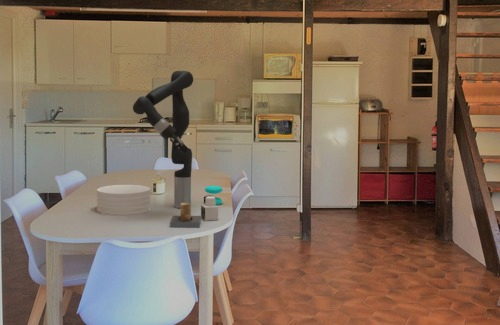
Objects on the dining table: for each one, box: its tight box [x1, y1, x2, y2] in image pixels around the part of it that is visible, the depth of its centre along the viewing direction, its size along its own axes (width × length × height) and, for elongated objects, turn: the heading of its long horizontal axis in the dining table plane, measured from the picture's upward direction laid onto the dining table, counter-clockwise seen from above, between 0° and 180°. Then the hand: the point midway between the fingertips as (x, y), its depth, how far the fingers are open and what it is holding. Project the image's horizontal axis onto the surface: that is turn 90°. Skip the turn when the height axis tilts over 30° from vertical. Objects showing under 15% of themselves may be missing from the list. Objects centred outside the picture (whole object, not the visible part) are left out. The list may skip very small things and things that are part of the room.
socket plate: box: [169, 215, 202, 228], centre depth 273 cm, size 14×14×2 cm
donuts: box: [204, 185, 223, 206], centre depth 323 cm, size 10×10×10 cm
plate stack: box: [96, 184, 151, 216], centre depth 303 cm, size 28×28×12 cm
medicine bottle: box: [200, 194, 219, 222], centre depth 284 cm, size 7×7×12 cm
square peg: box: [179, 203, 192, 220], centre depth 273 cm, size 5×5×10 cm
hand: (186, 151), depth 288 cm, fingers open, 8 cm apart
